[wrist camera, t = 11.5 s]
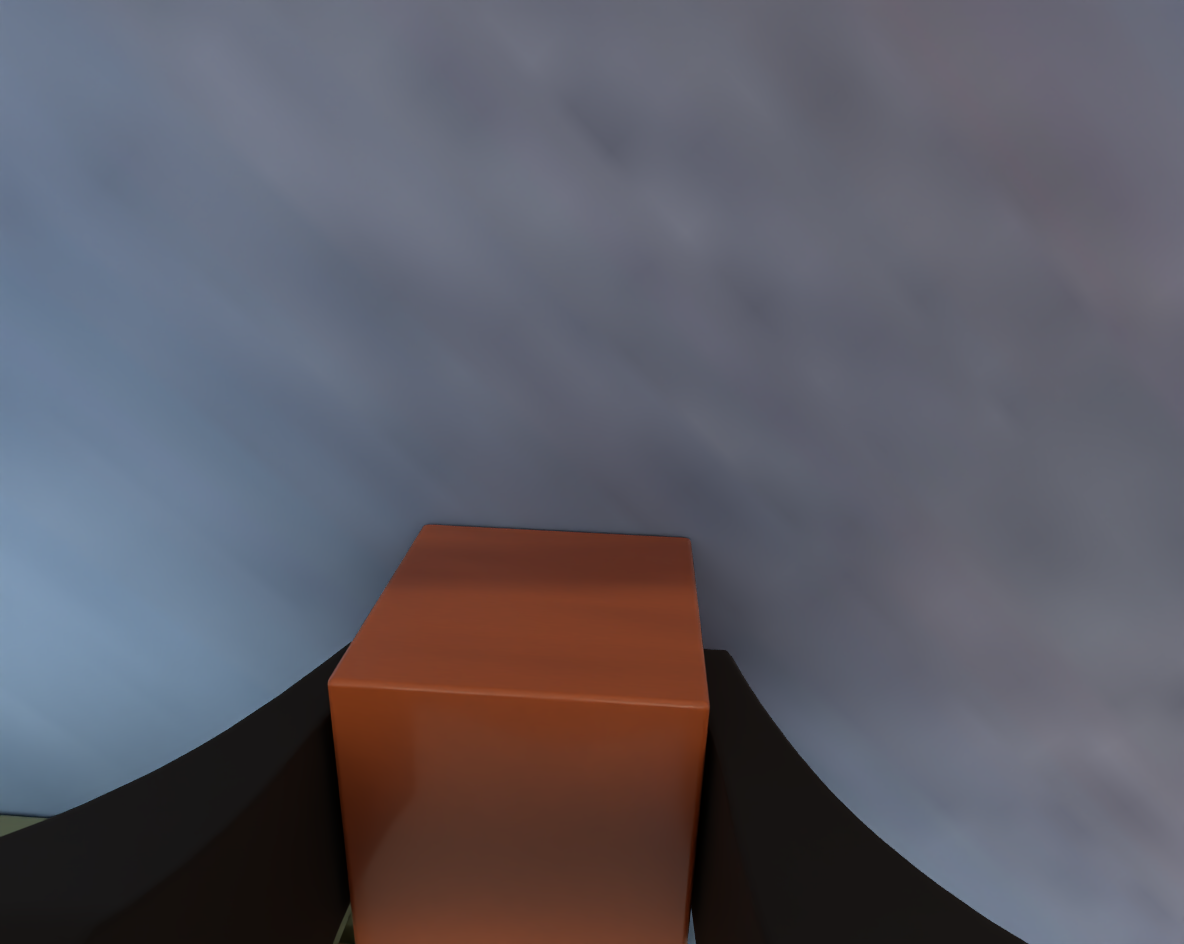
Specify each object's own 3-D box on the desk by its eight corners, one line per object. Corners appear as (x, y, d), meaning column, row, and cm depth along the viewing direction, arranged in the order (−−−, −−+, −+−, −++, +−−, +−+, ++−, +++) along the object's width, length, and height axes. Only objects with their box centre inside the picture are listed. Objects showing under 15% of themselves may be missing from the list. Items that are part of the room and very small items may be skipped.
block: (423, 521, 13) (324, 680, 9) (691, 536, 13) (711, 704, 9) (434, 739, 15) (353, 957, 11) (674, 755, 15) (684, 983, 11)
